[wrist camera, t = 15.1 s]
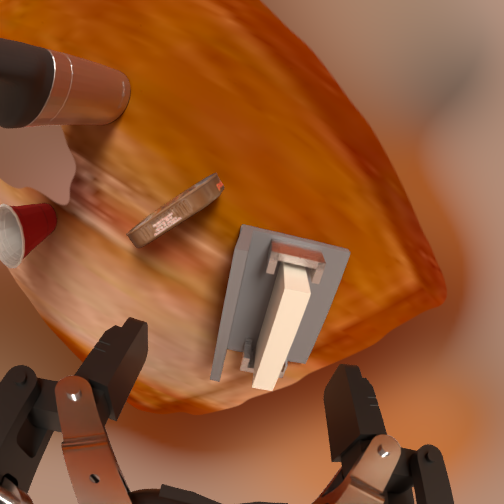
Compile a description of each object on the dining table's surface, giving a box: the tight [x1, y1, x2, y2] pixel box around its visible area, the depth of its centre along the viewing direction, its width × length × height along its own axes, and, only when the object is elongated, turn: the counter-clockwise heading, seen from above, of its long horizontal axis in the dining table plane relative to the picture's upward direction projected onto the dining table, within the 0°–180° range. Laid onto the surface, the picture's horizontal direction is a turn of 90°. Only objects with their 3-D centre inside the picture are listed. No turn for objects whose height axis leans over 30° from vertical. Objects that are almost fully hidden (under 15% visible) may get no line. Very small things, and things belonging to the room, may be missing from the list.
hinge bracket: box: [210, 224, 350, 382], centre depth 40 cm, size 16×22×10 cm
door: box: [252, 261, 311, 391], centre depth 38 cm, size 4×17×10 cm, turn 168°
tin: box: [126, 173, 224, 248], centre depth 36 cm, size 15×3×8 cm, turn 120°
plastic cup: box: [0, 203, 57, 268], centre depth 37 cm, size 11×11×12 cm
